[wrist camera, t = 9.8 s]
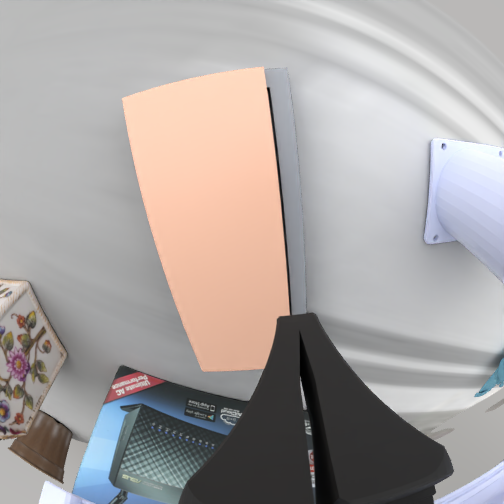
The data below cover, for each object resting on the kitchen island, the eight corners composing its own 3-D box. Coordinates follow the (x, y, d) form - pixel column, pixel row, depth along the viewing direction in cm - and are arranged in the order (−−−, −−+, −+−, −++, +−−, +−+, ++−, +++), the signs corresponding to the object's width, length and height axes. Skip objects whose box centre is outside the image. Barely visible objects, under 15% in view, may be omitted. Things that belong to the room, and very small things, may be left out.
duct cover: (262, 69, 11) (263, 66, 10) (291, 358, 20) (292, 366, 20) (128, 98, 12) (122, 98, 11) (204, 364, 21) (202, 371, 20)
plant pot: (50, 428, 48) (35, 468, 34) (18, 396, 41) (-3, 440, 27) (89, 443, 47) (75, 490, 33) (55, 413, 40) (34, 466, 26)
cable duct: (283, 74, 13) (287, 67, 11) (303, 335, 23) (306, 356, 20) (146, 99, 14) (129, 98, 12) (208, 342, 23) (204, 363, 21)
